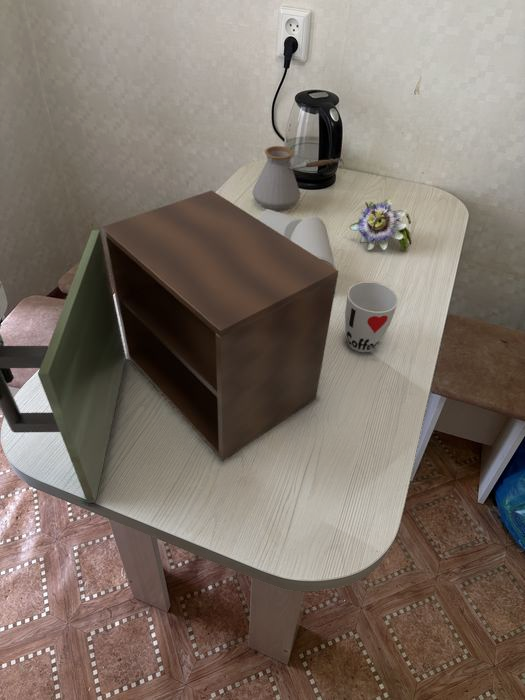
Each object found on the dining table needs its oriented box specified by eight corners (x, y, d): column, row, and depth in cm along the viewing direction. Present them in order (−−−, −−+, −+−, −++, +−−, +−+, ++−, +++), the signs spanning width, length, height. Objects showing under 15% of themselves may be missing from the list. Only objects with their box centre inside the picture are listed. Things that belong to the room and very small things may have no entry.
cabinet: (223, 461, 69) (220, 330, 53) (127, 356, 83) (101, 227, 66) (316, 399, 78) (338, 270, 61) (215, 314, 92) (211, 190, 75)
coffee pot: (243, 206, 121) (244, 144, 111) (267, 188, 128) (270, 128, 118) (323, 233, 114) (332, 169, 103) (343, 212, 121) (354, 150, 111)
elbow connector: (360, 254, 106) (275, 228, 112) (365, 214, 97) (273, 188, 103) (325, 314, 97) (236, 281, 103) (328, 276, 89) (230, 243, 95)
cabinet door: (32, 503, 63) (-38, 373, 47) (77, 358, 82) (38, 228, 66) (95, 502, 64) (48, 373, 47) (126, 358, 83) (99, 229, 66)
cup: (332, 350, 86) (341, 304, 79) (345, 322, 92) (354, 276, 85) (379, 364, 84) (392, 318, 77) (389, 334, 90) (402, 289, 83)
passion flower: (366, 270, 113) (341, 228, 107) (379, 239, 119) (355, 198, 113) (413, 259, 106) (389, 214, 100) (424, 227, 112) (402, 182, 106)
